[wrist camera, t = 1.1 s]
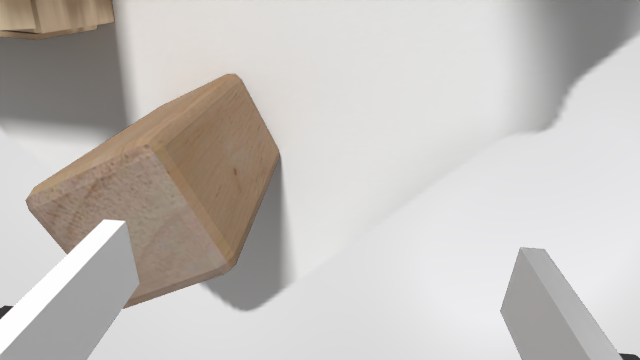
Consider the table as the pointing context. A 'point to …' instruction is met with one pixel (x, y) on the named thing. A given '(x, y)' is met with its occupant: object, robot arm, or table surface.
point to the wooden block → (170, 187)
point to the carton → (64, 18)
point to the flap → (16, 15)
